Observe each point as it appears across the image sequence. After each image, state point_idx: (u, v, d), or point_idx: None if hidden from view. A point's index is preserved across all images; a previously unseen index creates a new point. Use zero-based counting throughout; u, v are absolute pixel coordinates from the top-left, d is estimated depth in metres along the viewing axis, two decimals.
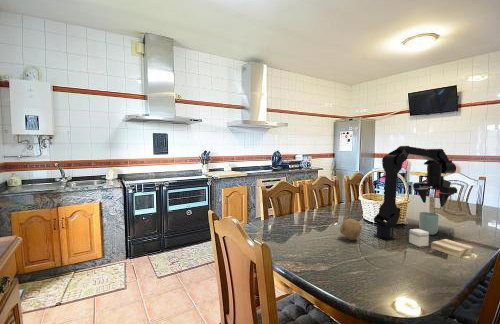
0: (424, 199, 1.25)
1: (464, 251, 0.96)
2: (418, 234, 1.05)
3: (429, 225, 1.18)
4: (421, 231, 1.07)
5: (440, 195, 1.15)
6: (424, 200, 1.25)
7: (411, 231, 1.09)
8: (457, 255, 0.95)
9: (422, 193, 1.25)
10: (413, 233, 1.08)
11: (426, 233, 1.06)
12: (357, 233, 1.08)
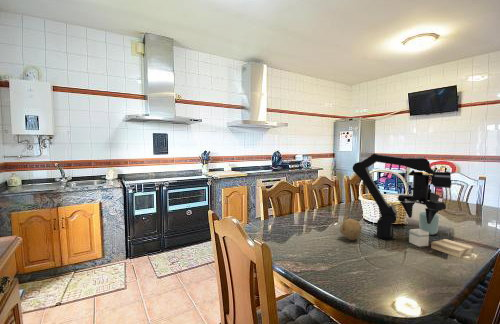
0: (410, 214, 1.12)
1: (464, 251, 0.96)
2: (418, 234, 1.05)
3: (429, 225, 1.18)
4: (421, 231, 1.07)
5: (427, 211, 1.01)
6: (410, 215, 1.12)
7: (411, 231, 1.09)
8: (457, 255, 0.95)
9: (407, 207, 1.12)
10: (413, 233, 1.08)
11: (426, 233, 1.06)
12: (357, 233, 1.08)
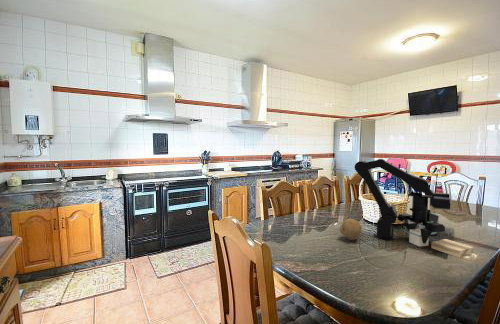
0: None
1: (464, 252, 0.96)
2: (418, 234, 1.05)
3: None
4: None
5: (422, 231, 1.03)
6: None
7: (411, 231, 1.09)
8: (457, 255, 0.95)
9: (410, 228, 1.10)
10: (413, 233, 1.08)
11: None
12: (357, 233, 1.08)
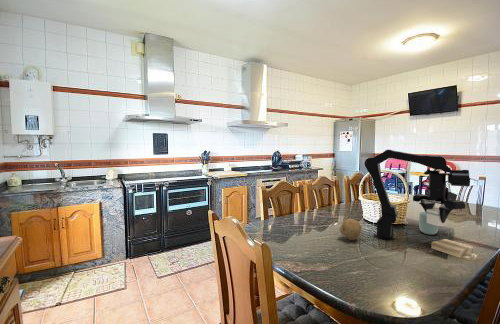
0: None
1: (464, 252, 0.96)
2: (437, 213, 1.01)
3: (429, 225, 1.18)
4: None
5: (441, 210, 0.99)
6: None
7: (428, 211, 1.04)
8: (457, 255, 0.95)
9: (428, 208, 1.06)
10: (431, 212, 1.03)
11: None
12: (357, 233, 1.08)
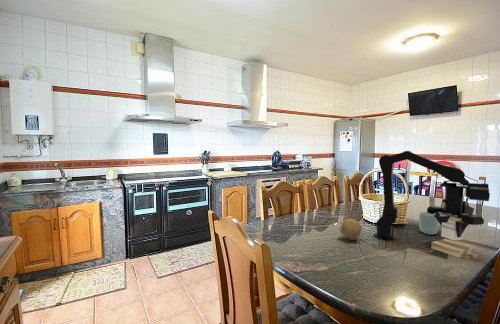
0: None
1: (464, 252, 0.96)
2: (453, 227, 0.98)
3: (429, 225, 1.18)
4: (455, 224, 0.99)
5: (457, 224, 0.96)
6: None
7: (444, 224, 1.01)
8: (457, 255, 0.95)
9: (443, 221, 1.03)
10: (446, 226, 1.00)
11: None
12: (357, 233, 1.08)
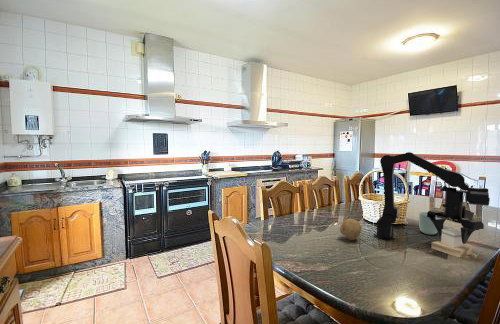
0: (441, 231, 1.05)
1: (464, 252, 0.96)
2: (453, 234, 0.98)
3: (429, 225, 1.18)
4: (455, 231, 0.99)
5: (463, 230, 0.94)
6: (441, 233, 1.05)
7: (444, 231, 1.01)
8: (457, 255, 0.95)
9: (438, 224, 1.05)
10: (446, 233, 1.00)
11: None
12: (357, 233, 1.08)
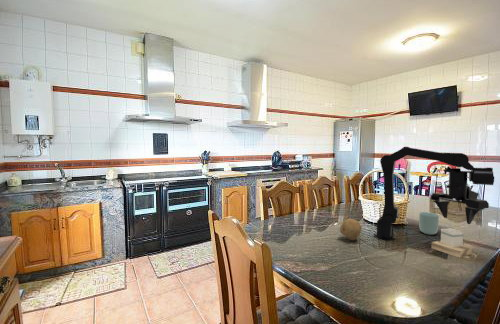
0: (445, 213, 1.04)
1: (464, 252, 0.96)
2: (451, 234, 0.98)
3: (429, 225, 1.18)
4: (454, 231, 1.00)
5: (467, 210, 0.93)
6: (445, 215, 1.04)
7: (443, 231, 1.02)
8: (457, 255, 0.95)
9: (442, 206, 1.04)
10: (445, 233, 1.01)
11: (460, 233, 0.98)
12: (357, 233, 1.08)
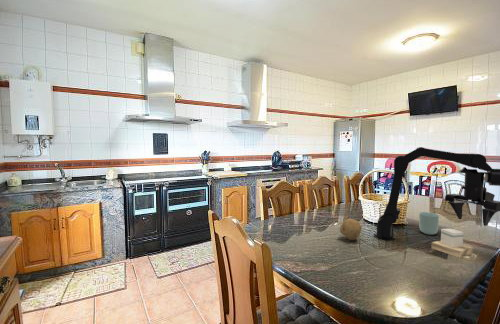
0: (460, 215, 1.03)
1: (464, 252, 0.96)
2: (452, 234, 0.98)
3: (429, 225, 1.18)
4: (455, 231, 0.99)
5: (484, 212, 0.92)
6: (460, 216, 1.03)
7: (443, 231, 1.01)
8: (457, 255, 0.95)
9: (457, 207, 1.03)
10: (445, 233, 1.00)
11: (461, 233, 0.98)
12: (357, 233, 1.08)
